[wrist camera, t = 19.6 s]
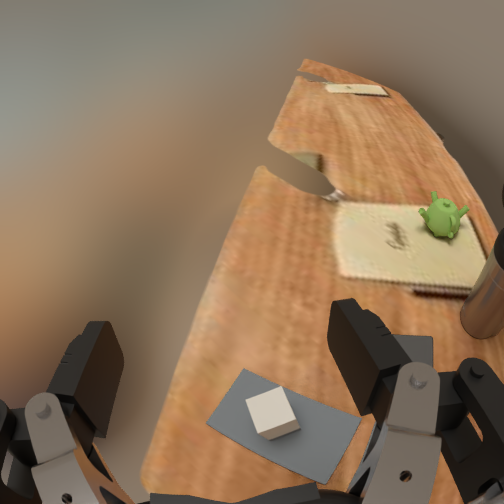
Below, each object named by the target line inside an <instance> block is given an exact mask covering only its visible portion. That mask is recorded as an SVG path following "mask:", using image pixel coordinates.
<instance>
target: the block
mask: <svg viewBox="0 0 504 504" xmlns="http://www.w3.org/2000/svg"><path fill="white" fill-rule="evenodd" d="M246 403H247V406H248V409H249V411H250V414H251V417H252V420H253V422H254V425H255V428H256V430H257V433H258V434H259V435H261V436H263V437H264V438H266V439H268V440H269V441H273V440H276V439H279V438H281V437H284V436H287V435H289V434H292V433H294V432H297V431H299V430H301V428H300V426H299V424H298V421H297V419H296V417H295V415H294V412H293V410H292V408H291V406H290V403H289V401H288V399H287V397H286V395H285V392H284V390H283V388H282V386H280V387H278V388H275V389H273V390H270V391H268V392H265V393H262V394H260V395H257V396H254V397H252V398H249V399H246Z"/></svg>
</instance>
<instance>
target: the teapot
mask: <svg viewBox="0 0 504 504" xmlns="http://www.w3.org/2000/svg"><path fill="white" fill-rule="evenodd" d="M431 196H432V202H433V203H432V204H431V205H430V206H429V208H428V209H427V211H425V210H424V208H420V209H419V213H420V215H421V216H422V217H423V218H424V220H425V222H426V224H427V226H428V227H429V229H430V230H431V231H432V232H434V236H435V237H439V236H448V237H449V238H453V234H455V233H456V232H457V231H458V230H459V227H460V218H461V217H462V216H463V215H464V214H466V213H467V212H468V211H469V208H468V207H467V205H465V206H464V207H463V208H462V209H461V210H460V211H459V212H458V209H457V207H456V205H455V204H454V203H453V202H452V201H450V200H448V199H445V198H440V199H438V197H437V193H436V191H434V192H431Z"/></svg>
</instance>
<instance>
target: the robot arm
mask: <svg viewBox="0 0 504 504" xmlns="http://www.w3.org/2000/svg"><path fill="white" fill-rule="evenodd" d="M502 201H503V207H504V186H503V191H502ZM460 317H461V322H462V325H463V327H464V329H465V330H466V331H467V332H468V333H469V334H470V335H471V336H473V337H475V338H478V339H484V338H487V337H489V336H496V335H497V334H498V332H499V331H500V330H501V329H502V328H503V326H504V228H503V229H502V230H501V231H500V233H499V234H498V237H497V239H496V241H495V244H494V246H493V248H492V250H491V253H490V255H489V257H488V259H487V261H486V263H485V266H484V268H483V270H482V272H481V274H480V276H479V278H478V279H477V281H476V283H475V285H474V287H473V289H472V291H471V292H470V294H469V296H468V298H467V299H466V301H465V303H464V305H463V307H462V309H461V314H460ZM327 341H328V346H329V349H330V352H331V354H332V356H333V358H334V360H335V362H336V364H337V366H338V368H339V370H340V372H341V374H342V377H343V379H344V381H345V383H346V385H347V387H348V389H349V391H350V393H351V396H352V398H353V400H354V402H355V404H356V406H357V408H358V411H359V413H360V415H361V416H364V415H367V414H371V413H372V414H373V416H374V418H375V420H376V422H375V424H374V427H373V430H372V433H371V436H370V439H369V442H368V444H367V447H366V450H365V452H364V455H363V458H362V460H361V463H360V465H359V467H358V469H357V471H356V473H355V475H354V477H353V479H352V481H351V482H350V484H349V487H348V489H347V491H346V493H345V492H342V491H336V490H327V489H318V488H317V485H316V482H313V483H309V484H304V485H299V486H294V487H288V488H283V489H276V490H273V491H270V492H267V493H265V494H262V495H259V496H256V497H253V498H250V499H247V500H243V501H240V502H236V503H226V502H220V501H214V500H209V499H204V498H199V497H195V496H190V495H169V494H156V493H150V501H147V502H143V503H138V504H428V503H429V500H430V496H431V492H432V488H433V484H434V480H435V476H436V471H437V466H438V461H439V455H440V450H441V452H442V454H443V456H444V459H445V461H446V463H447V465H448V467H449V469H450V472H451V474H452V476H453V478H454V481H455V483H456V485H457V487H458V490H459V492H460V495H461V497H462V499H463V502H464V504H504V385H503V383H502V382H501V381H500V379H499V378H498V377H497V375H496V374H495V373H494V371H493V370H492V369H491V368H490V366H489V365H488V364H487V363H486V362H484V361H483V360H481V359H478V358H467V359H465V360H463V361H462V363H461V364H460V366H459V368H458V370H457V371H452V372H440V373H437V372H436V370H435V369H434V368H432V367H431V366H429V365H428V364H425V363H421V362H412V360H411V359H410V358H409V356H408V355H407V353H406V352H405V351H404V349H403V348H402V347H401V345H400V344H399V343H398V341H397V340H396V339H395V337H394V336H393V335H391V332H390V331H389V329H388V328H387V327H385V324H384V323H383V322H382V320H381V319H380V318H379V316H377V315H376V314H374V313H372V312H371V311H369V310H368V309H366V310H362V308H361V307H360V306H359V304H358V303H357V302H356V300H355V299H353V298H350V299H343V300H337V301H333V302H332V304H331V310H330V318H329V325H328V332H327ZM123 367H124V357H123V353H122V350H121V348H120V345H119V343H118V340H117V338H116V335H115V333H114V330H113V328H112V325H111V323H110V322H109V321H90V322H89V323H88V324H87V326H86V328H85V329H84V331H83V333H82V335H78V336H77V337H76V338H75V339H74V340H73V341H72V342H71V343H70V344H69V346H68V348H67V350H66V352H65V355H64V356H63V358H62V360H61V364H59V366H58V368H57V370H56V372H55V374H54V376H53V378H52V380H51V382H50V384H49V387H48V389H47V391H46V393H40V394H37V395H35V396H34V397H33V398H31V399H30V401H29V402H28V404H27V405H26V408H19V409H9V407H8V406H7V405H6V404H5V403H4V402H3V401H2V400H0V504H42V502H43V504H135V503H134V502H133V501H132V499H131V498H130V497H129V496H128V495H127V494H126V493H125V492H124V491H123V489H121V487H120V486H119V485H118V483H117V481H116V480H115V478H114V476H113V475H112V473H111V471H110V470H109V468H108V466H107V465H106V463H105V461H104V459H103V458H102V456H101V454H100V452H99V451H98V449H97V447H96V445H95V444H94V443H93V438H94V437H100V438H106V434H107V429H108V424H109V421H110V416H111V412H112V408H113V404H114V400H115V397H116V393H117V389H118V386H119V382H120V378H121V375H122V371H123ZM469 413H471V415H472V416H473V418H474V420H475V421H476V423H477V425H478V426H479V428H480V430H481V432H482V434H483V442H482V441H481V439H480V438H479V436H478V434H477V432H476V431H475V429H474V427H473V425H472V424H471V422H470V420H469V419H468V417H467V416H468V414H469ZM7 451H8V452H9V453H10V454H11V455H12V456H13V457H14V458H13V462H12V466H11V470H10V474H9V478H8V483H7V486H6V485H5V484H4V483H3V481H2V478H1V470H2V467H3V463H4V459H5V456H6V452H7Z"/></svg>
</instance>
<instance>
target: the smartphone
mask: <svg viewBox="0 0 504 504" xmlns="http://www.w3.org/2000/svg"><path fill="white" fill-rule="evenodd" d="M391 335H393V336H394V337H395V339H396V340H397V341H398V343H399V344H400V345H401V347H402V348H403V349H404V351H405V352H406V353H407V355H408V356H409V358H410V359H411V360H412V362H421V363H425V364H428V365H429V366H431V367H432V368H433V338H432V337H431V336H412V335H394V334H391Z"/></svg>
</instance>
